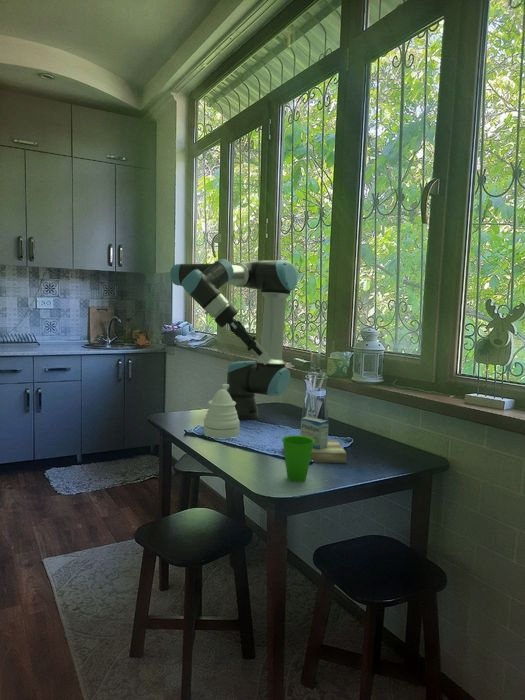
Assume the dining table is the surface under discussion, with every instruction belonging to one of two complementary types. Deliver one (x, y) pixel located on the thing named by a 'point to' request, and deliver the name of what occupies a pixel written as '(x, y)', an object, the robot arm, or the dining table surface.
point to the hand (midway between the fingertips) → (266, 359)
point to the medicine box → (315, 431)
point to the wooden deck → (329, 453)
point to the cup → (297, 456)
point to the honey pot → (222, 416)
